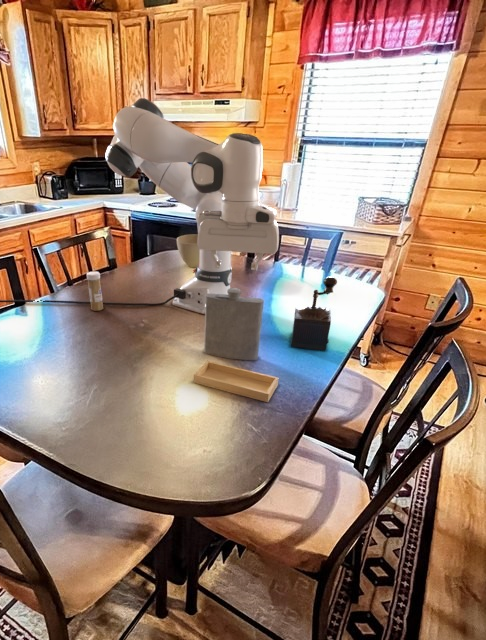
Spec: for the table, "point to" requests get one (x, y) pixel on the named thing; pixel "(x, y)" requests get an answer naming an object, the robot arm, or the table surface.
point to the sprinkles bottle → (95, 290)
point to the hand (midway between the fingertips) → (235, 268)
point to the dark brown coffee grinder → (313, 322)
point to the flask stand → (236, 380)
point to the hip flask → (233, 325)
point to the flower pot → (189, 249)
